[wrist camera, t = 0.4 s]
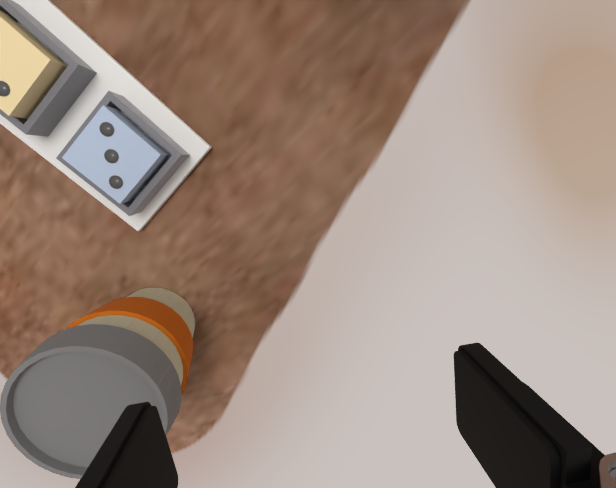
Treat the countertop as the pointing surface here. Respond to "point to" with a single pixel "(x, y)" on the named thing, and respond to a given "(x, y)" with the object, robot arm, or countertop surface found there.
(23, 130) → the button panel
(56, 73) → the button
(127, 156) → the button
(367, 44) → the countertop surface
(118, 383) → the reusable coffee cup
